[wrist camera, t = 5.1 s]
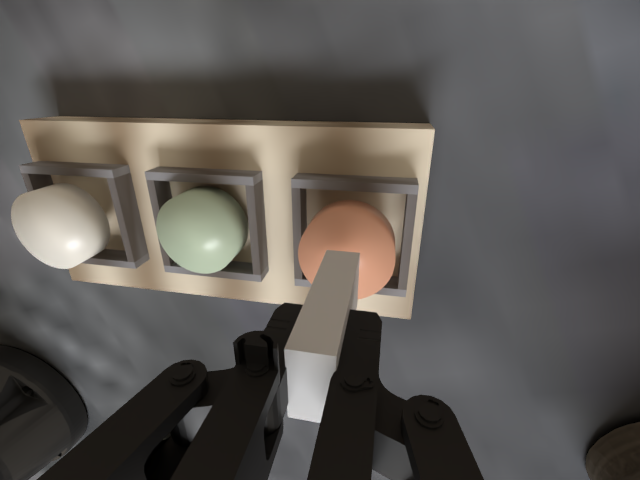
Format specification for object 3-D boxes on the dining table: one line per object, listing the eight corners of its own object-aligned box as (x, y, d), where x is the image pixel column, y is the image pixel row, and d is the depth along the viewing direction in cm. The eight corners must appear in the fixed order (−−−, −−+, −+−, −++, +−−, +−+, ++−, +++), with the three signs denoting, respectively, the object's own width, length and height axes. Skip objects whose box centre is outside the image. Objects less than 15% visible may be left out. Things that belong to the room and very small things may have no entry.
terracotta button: (307, 276, 21) (299, 294, 19) (305, 197, 19) (296, 209, 17) (391, 285, 20) (391, 304, 19) (399, 202, 18) (399, 215, 16)
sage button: (182, 255, 24) (164, 269, 22) (169, 183, 22) (148, 192, 20) (251, 262, 23) (239, 277, 21) (244, 187, 21) (230, 197, 19)
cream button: (54, 251, 24) (27, 265, 23) (30, 181, 22) (-2, 189, 21) (118, 257, 24) (95, 272, 22) (98, 185, 21) (71, 194, 20)
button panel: (100, 262, 30) (55, 290, 26) (58, 116, 25) (-5, 122, 21) (408, 294, 26) (411, 334, 22) (429, 123, 21) (438, 133, 17)
